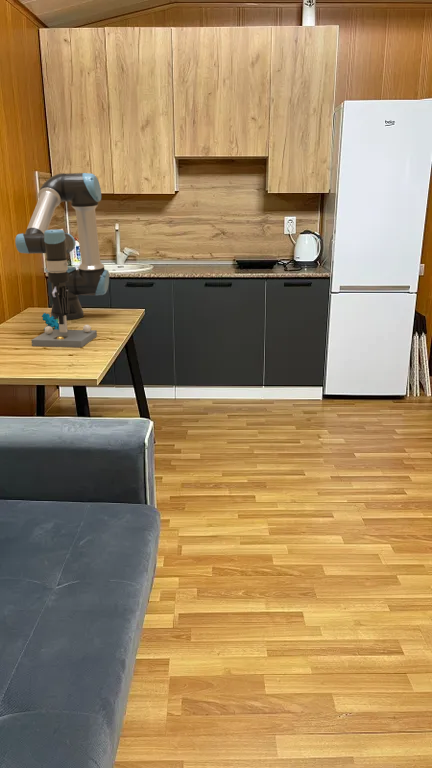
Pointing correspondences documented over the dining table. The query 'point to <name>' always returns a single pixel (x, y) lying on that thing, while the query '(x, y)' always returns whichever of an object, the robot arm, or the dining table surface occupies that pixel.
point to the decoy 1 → (48, 330)
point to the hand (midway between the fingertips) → (63, 331)
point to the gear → (50, 321)
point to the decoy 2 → (87, 328)
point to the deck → (70, 338)
